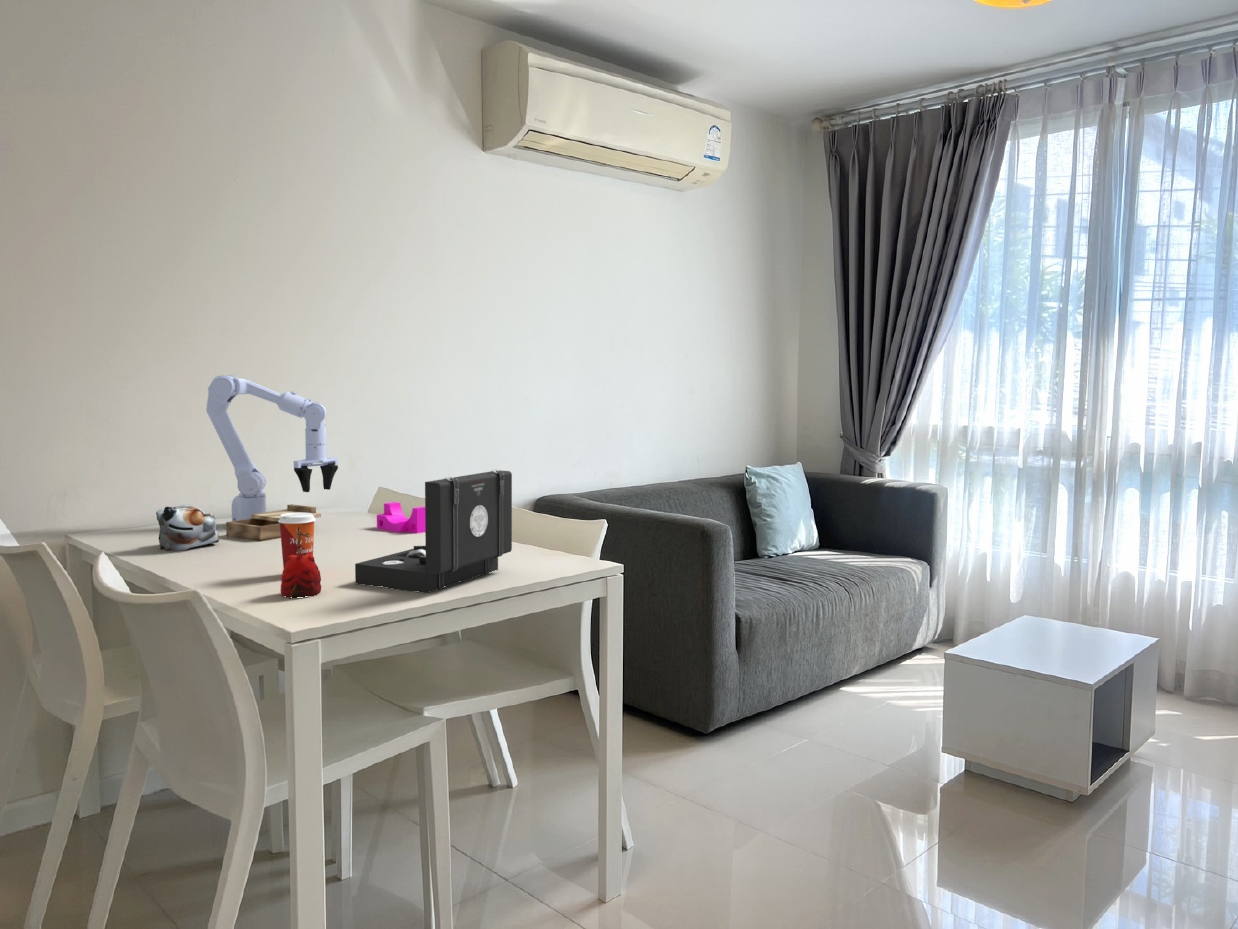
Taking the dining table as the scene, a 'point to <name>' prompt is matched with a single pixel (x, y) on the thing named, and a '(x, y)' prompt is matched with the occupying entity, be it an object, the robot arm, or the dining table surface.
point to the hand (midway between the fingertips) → (316, 490)
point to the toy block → (401, 519)
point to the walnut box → (253, 529)
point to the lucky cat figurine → (185, 528)
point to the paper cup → (289, 534)
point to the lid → (290, 509)
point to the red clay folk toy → (300, 574)
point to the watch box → (451, 535)
